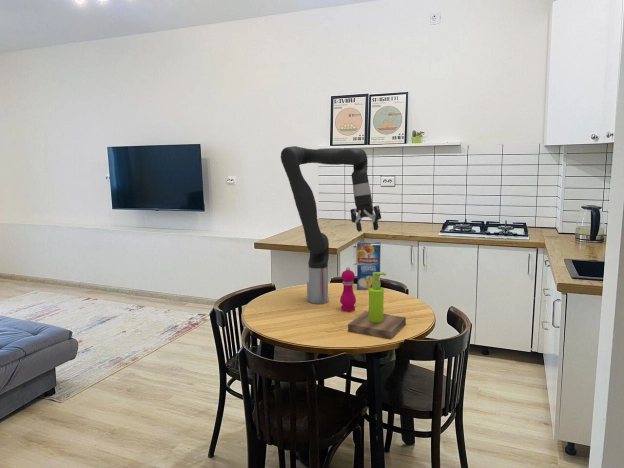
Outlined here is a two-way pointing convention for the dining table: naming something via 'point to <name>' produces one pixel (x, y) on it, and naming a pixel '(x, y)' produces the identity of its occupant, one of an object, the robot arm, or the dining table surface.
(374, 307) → the soap dispenser
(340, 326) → the dining table surface
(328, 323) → the dining table surface
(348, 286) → the pepper mill
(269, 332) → the dining table surface
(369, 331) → the walnut board
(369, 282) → the juice carton
